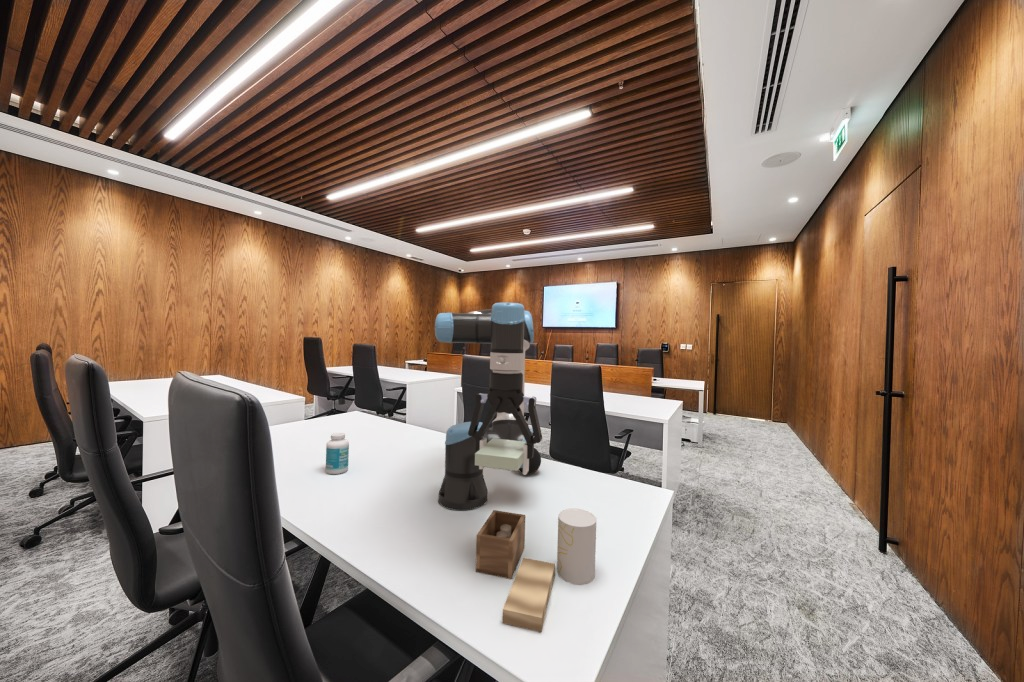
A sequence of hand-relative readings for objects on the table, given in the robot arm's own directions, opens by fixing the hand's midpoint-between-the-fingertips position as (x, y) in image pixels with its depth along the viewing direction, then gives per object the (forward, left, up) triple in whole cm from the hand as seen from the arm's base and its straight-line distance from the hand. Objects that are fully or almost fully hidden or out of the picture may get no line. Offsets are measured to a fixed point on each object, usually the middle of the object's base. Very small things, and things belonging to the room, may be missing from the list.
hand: (503, 469), depth 85 cm
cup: (+17, 0, -21) cm, 27 cm away
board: (+9, -10, -20) cm, 24 cm away
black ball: (-6, +54, -21) cm, 58 cm away
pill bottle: (-72, +33, -21) cm, 82 cm away
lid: (0, 0, +2) cm, 2 cm away
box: (0, 0, -20) cm, 20 cm away
